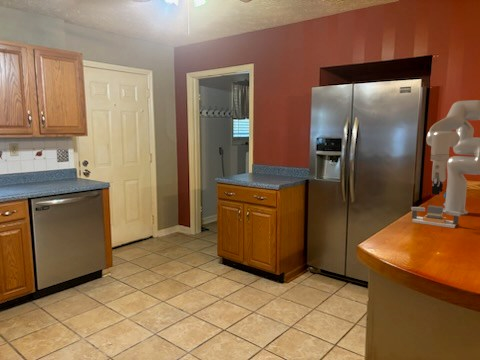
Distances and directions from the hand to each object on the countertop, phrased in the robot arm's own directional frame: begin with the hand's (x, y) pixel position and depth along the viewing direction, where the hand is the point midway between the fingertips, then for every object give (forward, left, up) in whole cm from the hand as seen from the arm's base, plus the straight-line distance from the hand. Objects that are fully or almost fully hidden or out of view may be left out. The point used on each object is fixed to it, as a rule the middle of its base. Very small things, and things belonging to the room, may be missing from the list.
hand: (437, 192), depth 173 cm
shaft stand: (0, 0, -15) cm, 15 cm away
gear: (-45, +34, -15) cm, 58 cm away
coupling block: (0, 0, -14) cm, 14 cm away
